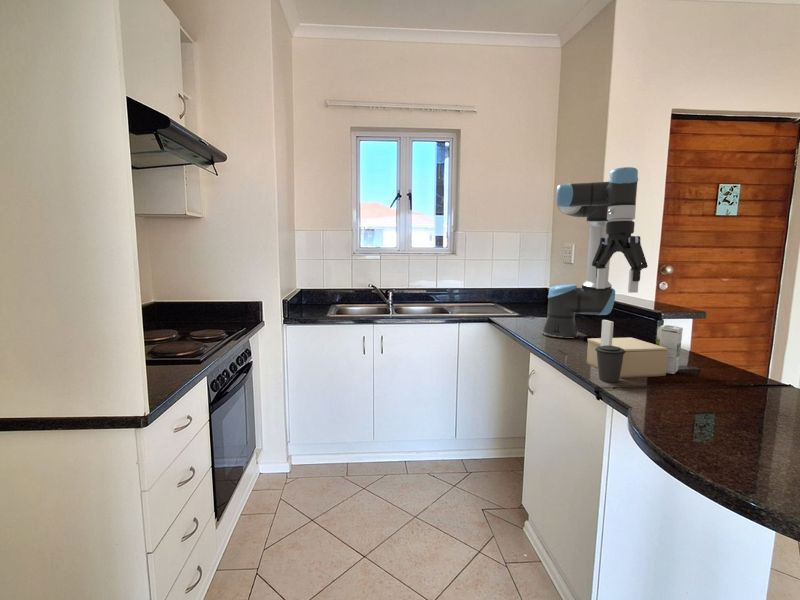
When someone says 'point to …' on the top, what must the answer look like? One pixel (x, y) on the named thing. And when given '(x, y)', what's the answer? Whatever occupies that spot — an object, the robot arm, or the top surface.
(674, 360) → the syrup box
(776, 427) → the top surface
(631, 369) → the carton
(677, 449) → the top surface
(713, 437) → the top surface
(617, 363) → the coffee cup
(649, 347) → the lid flap
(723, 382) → the top surface
